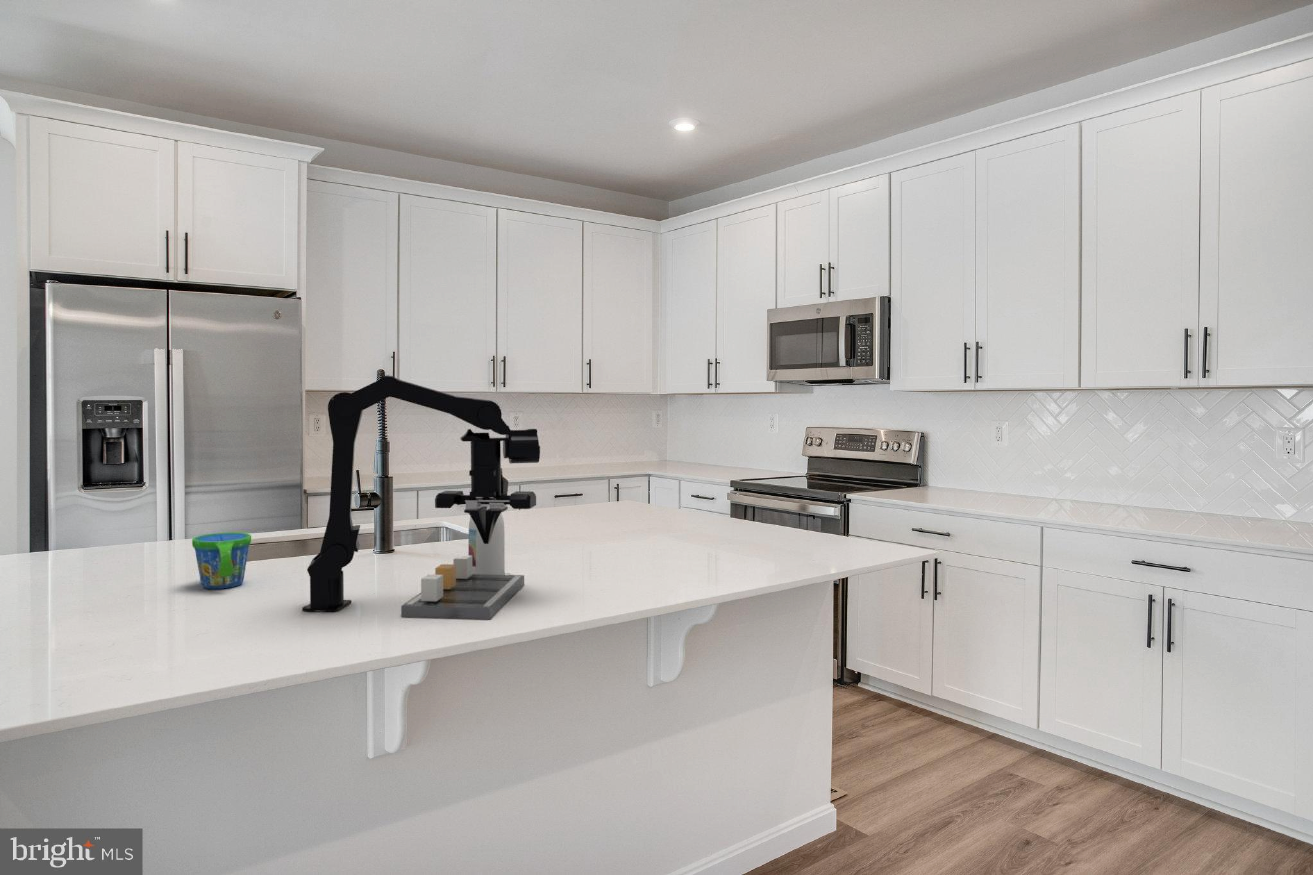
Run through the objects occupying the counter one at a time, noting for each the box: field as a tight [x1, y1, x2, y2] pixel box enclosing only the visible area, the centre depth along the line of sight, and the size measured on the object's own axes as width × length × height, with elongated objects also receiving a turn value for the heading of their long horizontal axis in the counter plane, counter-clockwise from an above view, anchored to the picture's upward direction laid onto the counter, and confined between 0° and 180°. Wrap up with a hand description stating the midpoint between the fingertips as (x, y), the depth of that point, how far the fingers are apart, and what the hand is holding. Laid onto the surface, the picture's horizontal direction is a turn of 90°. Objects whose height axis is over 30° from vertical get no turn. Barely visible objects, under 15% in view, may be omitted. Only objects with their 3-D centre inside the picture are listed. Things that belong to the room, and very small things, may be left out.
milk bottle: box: [467, 497, 506, 575], centre depth 170 cm, size 8×8×20 cm
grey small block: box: [420, 573, 443, 601], centre depth 141 cm, size 4×3×4 cm
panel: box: [400, 574, 525, 620], centre depth 150 cm, size 26×16×2 cm, turn 177°
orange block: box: [434, 563, 456, 589], centre depth 150 cm, size 4×3×4 cm
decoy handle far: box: [452, 554, 472, 579], centre depth 159 cm, size 4×3×4 cm
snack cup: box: [191, 532, 252, 590], centre depth 159 cm, size 16×10×10 cm
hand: (486, 543), depth 152 cm, fingers closed
